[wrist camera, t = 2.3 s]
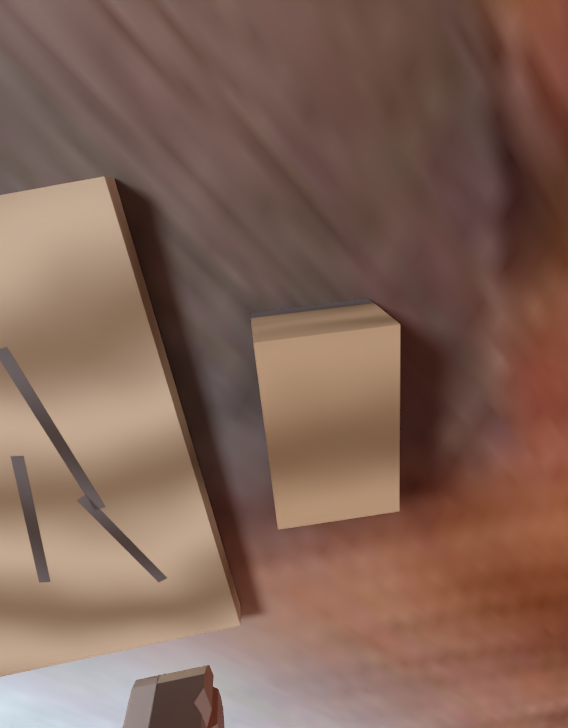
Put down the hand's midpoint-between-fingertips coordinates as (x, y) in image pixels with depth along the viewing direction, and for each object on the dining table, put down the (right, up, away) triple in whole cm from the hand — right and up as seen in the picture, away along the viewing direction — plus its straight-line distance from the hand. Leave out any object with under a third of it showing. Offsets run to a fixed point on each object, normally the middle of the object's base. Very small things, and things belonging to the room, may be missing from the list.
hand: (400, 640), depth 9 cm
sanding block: (-1, +5, +10) cm, 11 cm away
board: (-13, +1, +10) cm, 17 cm away
